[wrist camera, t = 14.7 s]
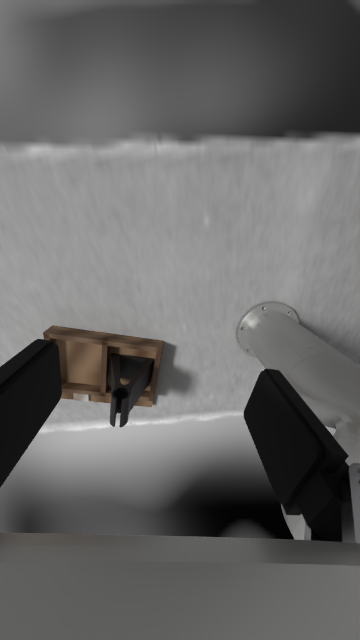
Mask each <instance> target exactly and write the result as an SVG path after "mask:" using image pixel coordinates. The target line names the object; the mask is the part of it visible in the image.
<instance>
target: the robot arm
mask: <svg viewBox="0 0 360 640" xmlns="http://www.w3.org/2000/svg"><path fill="white" fill-rule="evenodd" d="M237 340H238V343H239V345H240V347H241V348H242V349H243V351H244V352H245V353H247V354H249V355H250V356H253V357H257V358H258V359H259V361H260V362H261V363H262V365H263V366H264V368H265V370H264V371H262V372H261V373H260V375H259V377H258V379H257V382H256V384H255V386H254V389H253V391H252V394H251V396H250V398H249V401H248V403H247V405H246V408H245V410H244V419H245V421H246V424H247V426H248V429H249V431H250V434H251V436H252V439H253V441H254V444H255V446H256V449H257V451H258V454H259V456H260V459H261V461H262V463H263V466H264V469H265V471H266V473H267V476H268V478H269V481H270V483H271V486H272V488H273V491H274V493H275V496H276V498H277V500H278V502H279V503H281V507H282V511H283V514H284V517H285V520H286V522H287V525H288V527H289V529H290V531H291V533H292V535H293V537H294V539H295V540H286V539H284V540H283V539H254V538H220V537H181V536H180V537H179V536H139V535H137V536H135V535H93V534H92V535H90V534H36V533H0V640H360V365H359V364H358V363H356V362H355V361H353V360H352V359H350V358H349V357H347V356H346V355H344V354H343V353H341V352H340V351H338V350H337V349H335V348H334V347H332V346H331V345H329V344H328V343H327V342H325V341H324V340H322V339H321V338H319V337H318V336H316V335H315V334H314V333H312V332H310V331H309V330H307V329H306V328H304V327H303V326H302V325H300V324H299V320H298V317H297V315H296V313H295V312H294V311H293V310H292V309H291V308H290V307H288V306H287V305H285V304H282V303H279V302H267V303H262V304H260V305H257V306H255V307H254V308H252V309H251V310H249V311H248V312H247V313H246V314H245V315H244V316H243V318H242V319H241V321H240V323H239V325H238V328H237ZM61 396H62V385H61V371H60V357H59V347H58V345H55V343H54V341H51V340H43V339H37V340H35V341H34V342H32V343H31V344H30V345H28V346H27V347H26V348H25V349H23V350H22V351H21V352H19V353H18V354H17V355H15V356H14V357H13V358H11V359H10V360H9V361H8V362H6V363H5V364H4V365H2V366H1V367H0V487H1V486H2V484H3V483H4V481H5V480H6V478H7V477H8V476H9V474H10V472H11V471H12V470H13V468H14V467H15V465H16V464H17V462H18V461H19V459H20V458H21V456H22V455H23V453H24V452H25V450H26V449H27V448H28V446H29V445H30V443H31V442H32V440H33V439H34V437H35V436H36V434H37V433H38V431H39V430H40V428H41V427H42V426H43V424H44V423H45V421H46V420H47V418H48V417H49V415H50V414H51V412H52V411H53V409H54V408H55V406H56V405H57V403H58V402H59V400H60V398H61ZM325 426H327V427H331V428H335V429H336V432H335V434H334V435H333V436H332V435H331V433H330V432H329V431H328V430H327V428H326V427H325Z"/></svg>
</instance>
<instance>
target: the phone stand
mask: <svg viewBox="0 0 360 640" xmlns="http://www.w3.org/2000/svg"><path fill="white" fill-rule="evenodd" d="M153 364H154V359H153V358H146V357H138V356H130V355H122V354H114V353H112V354H111V361H110V385H111V409H110V424H111V425H112V426H113V427H114V426H115V419H116V414H117V413H121V416H120V427H123V426H124V425H125V424H126V423H127V422H128V415H129V412H130V411H131V409H132V408H133V406H134V405H135V404H136V402H137V401H138V399H139V398H140V396H141V395H142V394H143V392H144V391H145V389H146V388H147V386H148V385H149V384H150V382H151V377H152V371H153ZM120 378H124V379H131V381H130V382H129V383H128V384H126V385H123V384H121V382H120Z"/></svg>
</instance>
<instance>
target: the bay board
mask: <svg viewBox="0 0 360 640" xmlns="http://www.w3.org/2000/svg"><path fill="white" fill-rule="evenodd" d="M43 335H44V340H51V341H54V343H55V345H58V347H59V357H60V371H61V385H62V396H61V398H64V399H74V400H79V401H94V402H104V403H111V385H110V361H111V354H112V353H114V354H122V355H130V356H138V357H146V358H153V359H154V364H153V371H152V377H151V382H150V384H149V385H148V386H147V388H146V389H145V391H144V392H143V394H142V395H141V396H140V398H139V399H138V401H137V402H136V404H135V406H145V407H152V403H153V400H154V394H155V388H156V382H157V376H158V370H159V364H160V359H161V353H162V345H163V341H160V340H153V339H146V338H138V337H131V336H124V335H117V334H109V333H102V332H95V331H88V330H80V329H73V328H66V327H58V326H51V327H50V328H49V329H47V330H46V331H45V332H43ZM130 381H131V379H124V378H120V382H121V384H123V385H126V384H128V383H129V382H130Z"/></svg>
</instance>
